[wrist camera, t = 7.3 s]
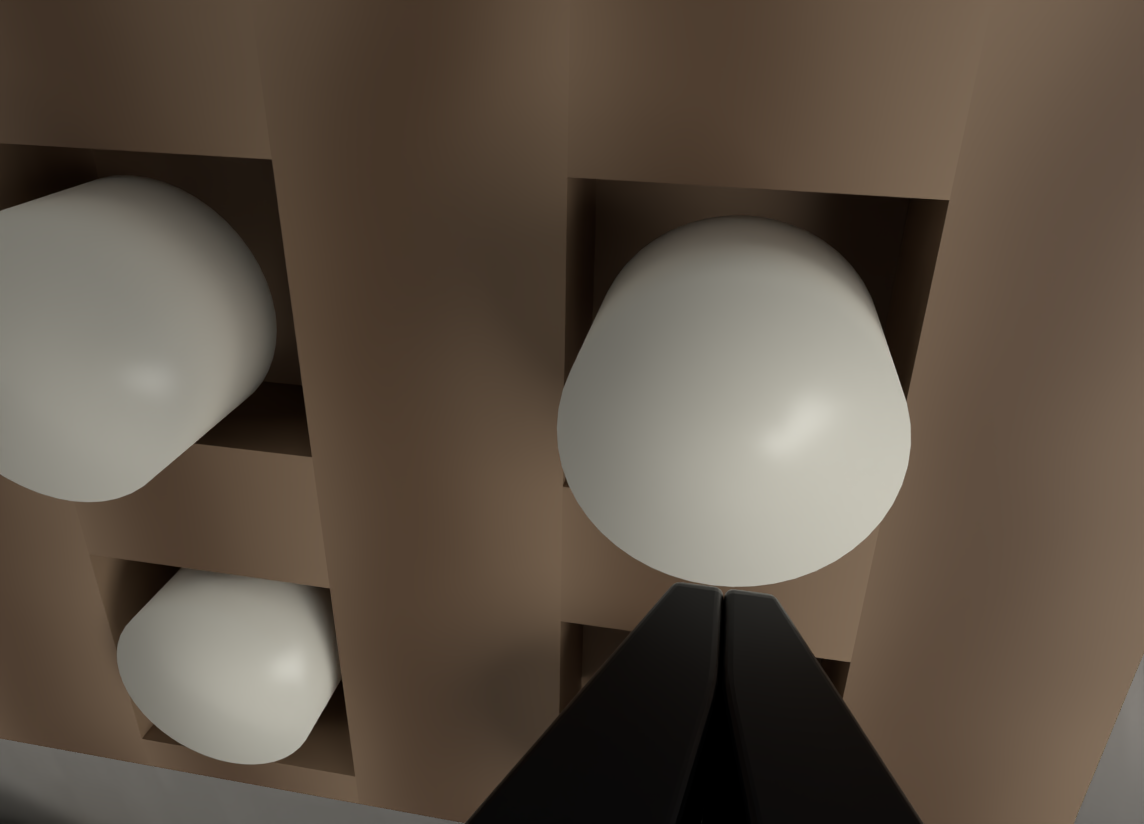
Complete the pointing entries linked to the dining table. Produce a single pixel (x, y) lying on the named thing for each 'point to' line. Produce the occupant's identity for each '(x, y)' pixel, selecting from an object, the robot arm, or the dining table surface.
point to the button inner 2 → (232, 663)
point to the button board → (556, 334)
